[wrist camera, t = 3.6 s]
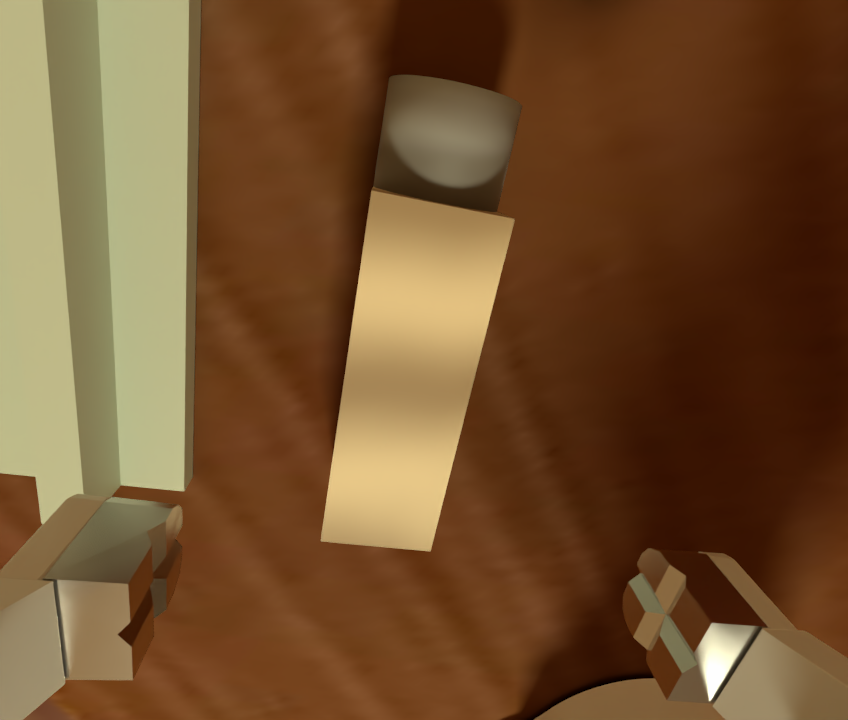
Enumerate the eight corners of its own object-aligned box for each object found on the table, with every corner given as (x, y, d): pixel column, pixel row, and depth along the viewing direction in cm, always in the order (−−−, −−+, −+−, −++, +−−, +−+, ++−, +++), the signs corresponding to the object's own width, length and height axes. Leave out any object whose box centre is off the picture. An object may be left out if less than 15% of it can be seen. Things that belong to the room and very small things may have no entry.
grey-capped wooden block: (420, 470, 22) (430, 551, 18) (333, 460, 22) (320, 541, 17) (500, 116, 17) (545, 99, 12) (388, 90, 16) (390, 61, 12)
